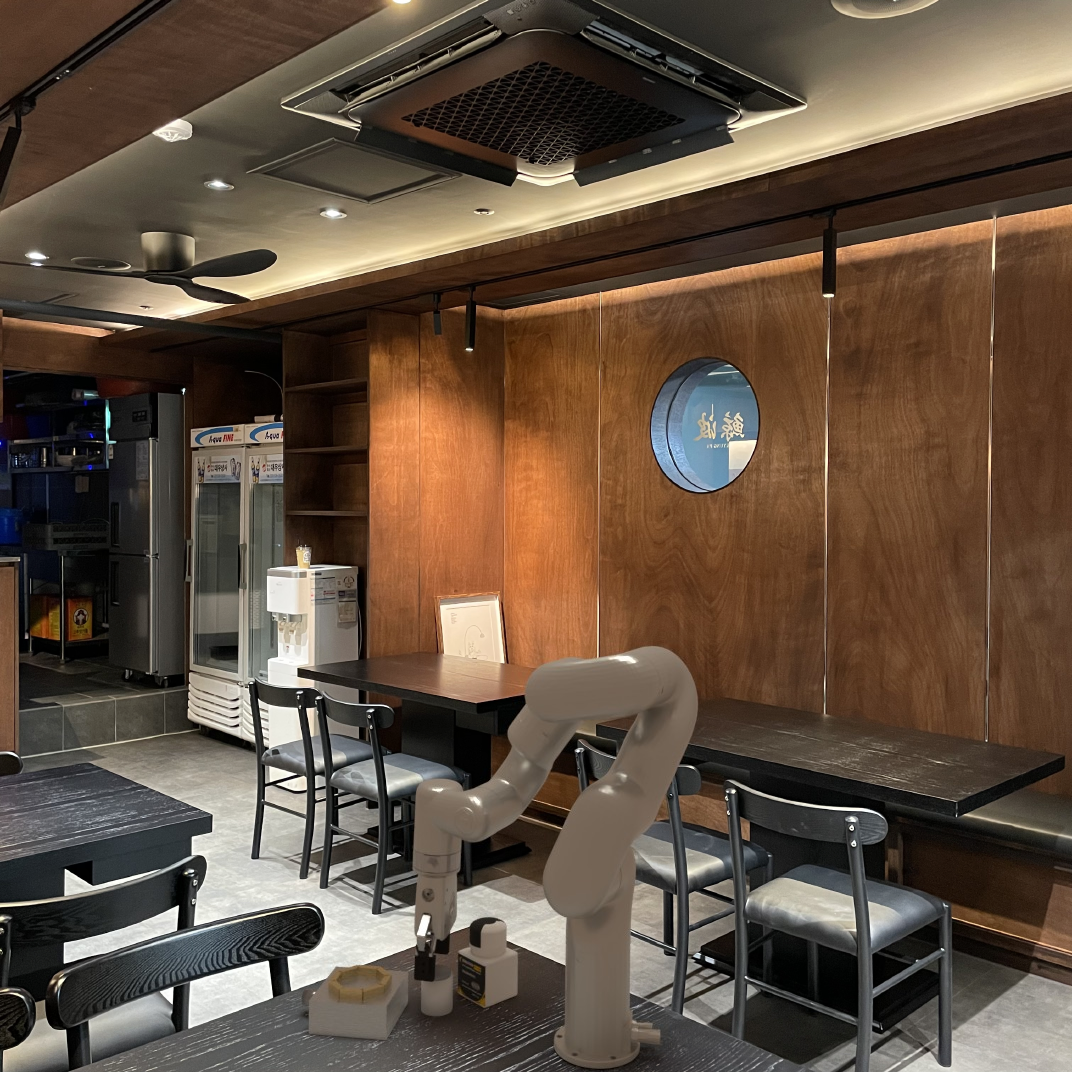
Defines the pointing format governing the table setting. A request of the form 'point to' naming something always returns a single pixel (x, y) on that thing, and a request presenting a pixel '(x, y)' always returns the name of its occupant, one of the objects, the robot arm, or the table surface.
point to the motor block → (357, 1002)
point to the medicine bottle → (487, 964)
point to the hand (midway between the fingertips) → (432, 966)
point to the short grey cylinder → (438, 993)
